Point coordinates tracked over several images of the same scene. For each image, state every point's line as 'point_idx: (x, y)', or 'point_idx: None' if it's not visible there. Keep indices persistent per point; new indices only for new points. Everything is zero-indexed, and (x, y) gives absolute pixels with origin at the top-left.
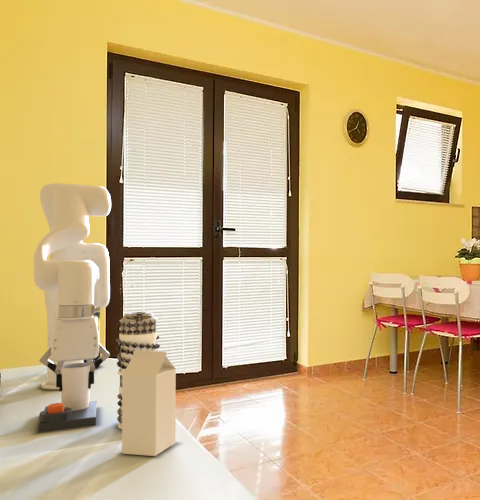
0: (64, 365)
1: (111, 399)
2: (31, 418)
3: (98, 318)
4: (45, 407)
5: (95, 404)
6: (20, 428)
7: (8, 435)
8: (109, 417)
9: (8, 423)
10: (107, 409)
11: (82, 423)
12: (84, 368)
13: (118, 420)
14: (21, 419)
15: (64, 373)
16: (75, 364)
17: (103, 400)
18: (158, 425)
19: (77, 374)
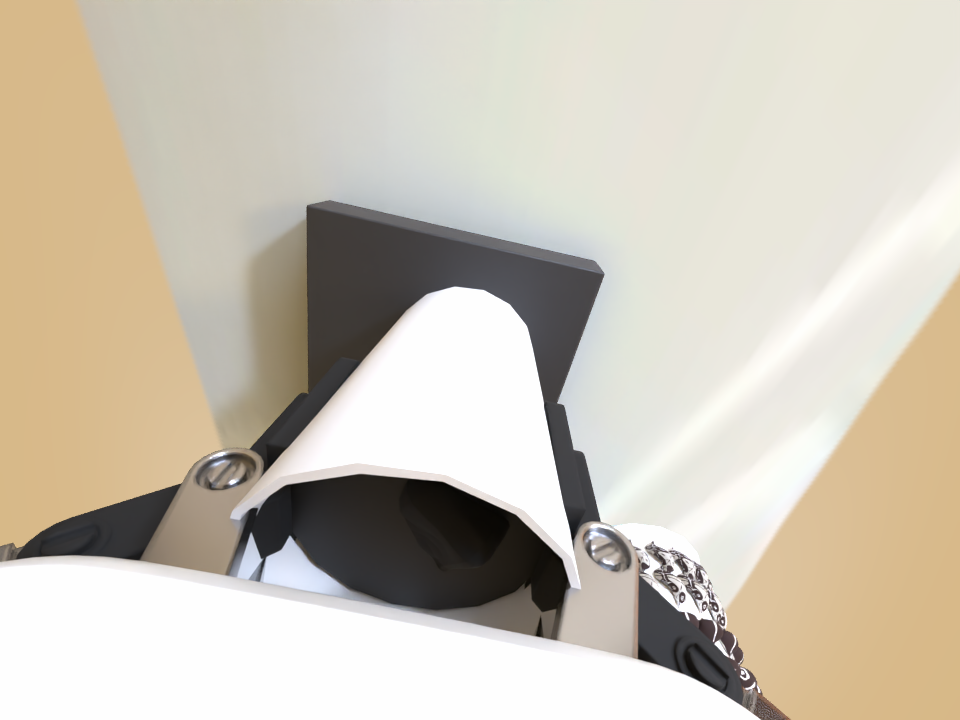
0: (265, 493)
1: (790, 39)
2: (265, 235)
3: None
4: (308, 233)
5: (569, 356)
6: (249, 377)
7: (226, 435)
8: (584, 450)
9: (173, 260)
10: (634, 318)
11: None
12: None
13: None
14: (217, 221)
15: (312, 585)
16: (416, 464)
17: (730, 29)
18: None
19: (422, 612)
